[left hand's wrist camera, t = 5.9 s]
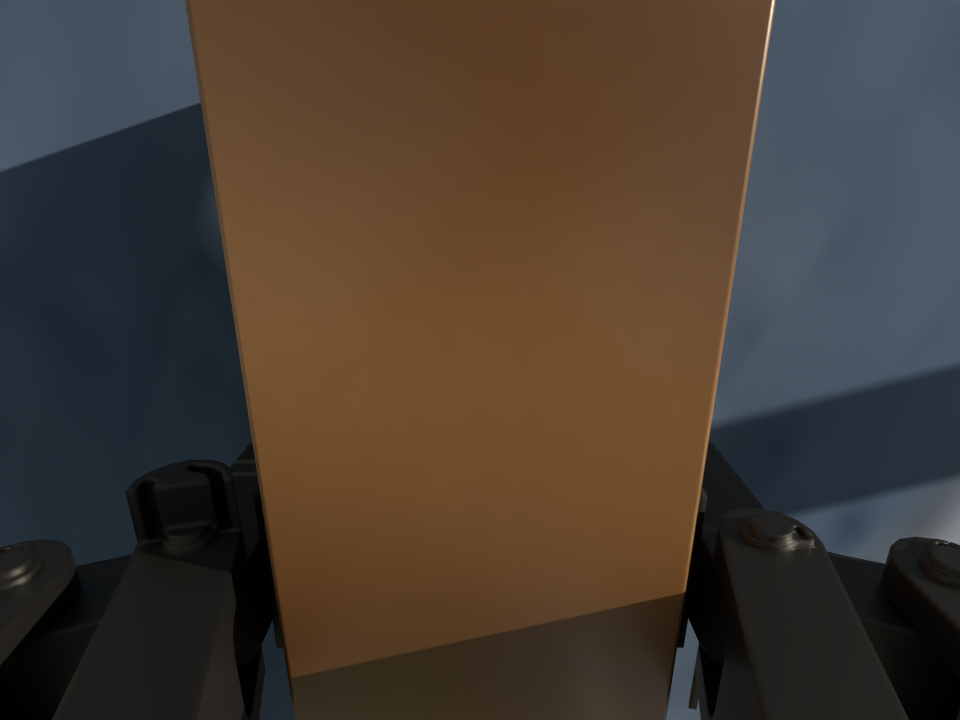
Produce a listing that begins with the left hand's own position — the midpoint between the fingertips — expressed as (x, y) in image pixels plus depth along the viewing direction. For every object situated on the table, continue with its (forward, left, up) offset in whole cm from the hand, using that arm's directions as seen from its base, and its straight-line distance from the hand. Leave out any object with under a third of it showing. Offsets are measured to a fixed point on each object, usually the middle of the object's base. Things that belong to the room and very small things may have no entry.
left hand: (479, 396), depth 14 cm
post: (+26, +12, -1) cm, 29 cm away
